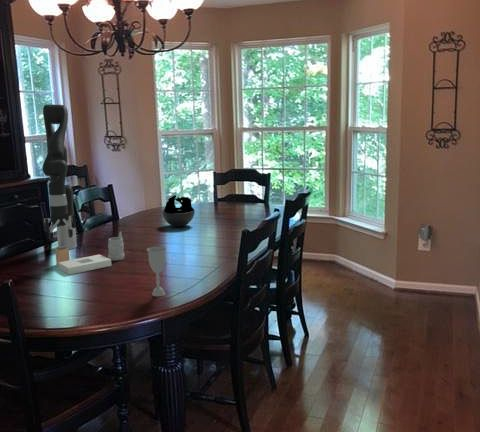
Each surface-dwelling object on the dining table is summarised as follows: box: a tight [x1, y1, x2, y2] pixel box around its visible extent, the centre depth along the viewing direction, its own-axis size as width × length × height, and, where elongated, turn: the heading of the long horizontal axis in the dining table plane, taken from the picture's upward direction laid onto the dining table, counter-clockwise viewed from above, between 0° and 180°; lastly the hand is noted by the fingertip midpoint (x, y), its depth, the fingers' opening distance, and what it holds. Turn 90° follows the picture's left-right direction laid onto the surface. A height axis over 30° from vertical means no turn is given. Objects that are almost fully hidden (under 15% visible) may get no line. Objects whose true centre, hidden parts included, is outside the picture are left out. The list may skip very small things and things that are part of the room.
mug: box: [107, 231, 126, 262], centre depth 249 cm, size 8×12×12 cm, turn 169°
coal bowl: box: [161, 194, 196, 228], centre depth 316 cm, size 20×20×19 cm
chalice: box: [146, 246, 167, 297], centre depth 196 cm, size 7×7×18 cm
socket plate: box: [58, 254, 112, 275], centre depth 235 cm, size 12×20×3 cm, turn 130°
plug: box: [54, 246, 71, 267], centre depth 239 cm, size 5×5×9 cm
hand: (61, 238), depth 237 cm, fingers open, 8 cm apart
